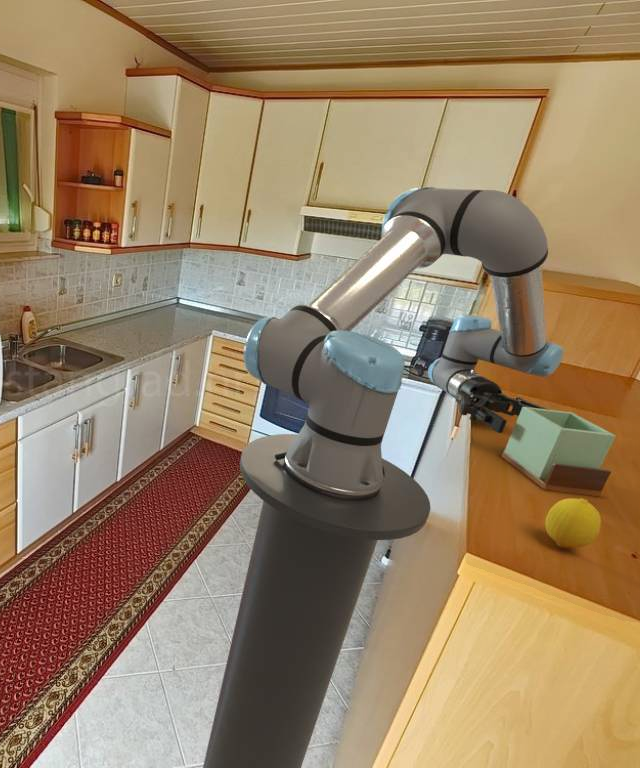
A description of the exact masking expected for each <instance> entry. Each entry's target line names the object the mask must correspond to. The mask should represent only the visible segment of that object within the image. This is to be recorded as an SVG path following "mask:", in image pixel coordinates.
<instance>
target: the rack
mask: <svg viewBox="0 0 640 768" xmlns="http://www.w3.org/2000/svg"><path fill="white" fill-rule="evenodd" d="M501 458H503V459H504V460H505V461H506V462H508V463H509V464H510V465H512V466H513V467H514V468H516V469H517V470H518V471H519V472H521V473H522V474H523V475H525V476H526V477H527V478H528V479H529V480H531V481H532V482H534V483H535V484H536V485H537V486H539V487H540V488H541V489H543V490H544V491H550V492H551V491H553V492H559V493H561V492H562V493H567V494H576V495H585V496H592V497H600V495H601V494H602V491H603V489H604V487H605V485H606V483H607V481H608V480H609V477H610V475H611V474H612V471H611V470H610V469H605V468H604V469H603V468H600V469H596V468H588V467H580V466H571V465H563V464H555V463H553V465H552V467H551V470H550V472H549V474H548V476H547V478H546V479H540V478H538V477H537V476H535V475H534V474H533V473H531V472H530V471H529V470H527V469H526V468H525V467H523V466H522V465H521V464H519V463H518V462H517V461H515V460H514V459H513V458H512V457H510V456H509V455H508V454H506V453H505V452H504V451H503V452H502V454H501Z"/></svg>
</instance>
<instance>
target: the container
mask: <svg viewBox="0 0 640 768" xmlns="http://www.w3.org/2000/svg"><path fill="white" fill-rule="evenodd" d="M547 409H548V408H547ZM547 409H539V408H530V407H522V410H521V412H520V415H519V416H518V417H517V420H516V422H515V424H514V426H513V429H512V431H511V434H510V436H509V439H508V441H507V444H506V445H505V449H504V450H503V452H505V453H506V454H508V455H509V456H510V457H512V458H513V459H514V460H515V461H517V462H518V463H519V464H521V465H522V466H523V467H525V468H526V469H527V470H529V471H530V472H531V473H533V474H534V475H535V476H537V477H538V478H540V479H546V478H547V476H548V474H549V472H550V470H551V467H552V465H553V463H555V464H563V465H571V466H580V467H588V468H596V469H601V467H602V465H603V463H604V461H605V460H606V457H607V455H608V453H609V451H610V449H611V447H612V446H613V443H614V441H615V439H616V438H617V435H615V434H613V433H612V432H610V431H608V430H606V429H604V428H602V427H601V426H599V425H596V424H595V423H593V422H590V421H589V420H587V419H585V418H584V417H582V416H580V415H578V414H576V413H574V412H572V411H562V410H555V409H549V410H547Z"/></svg>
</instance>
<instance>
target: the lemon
mask: <svg viewBox="0 0 640 768" xmlns="http://www.w3.org/2000/svg"><path fill="white" fill-rule="evenodd" d="M544 526H545V531H546V532H547V535H548V536H549V537H550V538H551V540H553V541H554V542H555V543H556V544H557V547H560V548H563V549H564V548H574V549H577V548H584V547H586V546H588V545H590V544H591V543H593V542H594V541H595V539H597V537H598V535H599V533H600V531H601V526H602V518H601V514H600V513H599V511H598V510H597V509H596V507H594V505H592V504H591V503H590V502H589V501H588V499H585V498H574V497H573V498H564V499H561V500H558V501H557V502H556V503H555V504H553V505H552V507H551V508H550V509H549V510H548V512H547V514H546V517H545V521H544Z"/></svg>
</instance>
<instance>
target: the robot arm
mask: <svg viewBox="0 0 640 768" xmlns="http://www.w3.org/2000/svg"><path fill="white" fill-rule="evenodd" d="M387 211H388V212H386V213H385V214H384V215H383V216H384V217H383V219H382V224H381V238H380V239H379V240H378V241H376V243H374V245H373V246H371V247H370V248H369V249H368V250H367V251H366V252H365V253H363V255H362V256H360V257H359V258H358V259H357V260H356V261H354V263H352V265H350V266H349V267H348V268H347V269H346V270H345V271H344V272H343V273H341V275H339V276H338V277H337V278H336V279H335V280H334V281H333V282H331V284H330V285H328V286H327V287H326V288H325V289H324V290H323V291H322V292H320V293H319V295H317V296H316V297H315V298H314V299H313V300H312V301H311V302H310V303H309V304H297V305H295V306H293V307H292V308H290V309H289V310H288V311H287V312H286V313H285V314H284V315H283V316H282V317H280V318H278V317H276V316H265V317H262V318H260V319H259V320H258V321H256V323H254V324H253V326H252V327H251V328H250V330H249V332H248V334H247V337H246V339H245V341H244V343H245V345H244V348H243V361H244V365H245V369H246V371H247V372H248V373H249V374H250V376H251V377H253V378H254V379H257V380H259V381H260V382H261V383H262V384H264V385H265V386H271V387H272V388H275V389H277V390H279V391H281V392H283V393H284V394H287V395H289V396H292V397H293V398H295V399H298V400H300V401H302V402H304V403H306V404H308V409H307V414H306V418H305V422H304V425H303V426H302V428H301V429H300V430H299V432H298V435H297V437H296V438H295V440H294V441H293V443H292V444H291V446H290V447H289V448H288V450H287V452H285V453H281V454H276V455H275V458H276V460H279V459H284V458H285V459H284V468H285V470H286V472H287V473H288V474H289V475H290V476H291V477H292V478H293V479H294V480H295V481H296V482H298V483H299V484H301V485H302V486H304V487H306V488H308V489H310V490H312V491H314V492H317V493H319V494H322V495H325V496H328V497H332V498H336V499H341V500H349V501H363V500H369V499H372V498H374V497H376V496H377V495H378V494H379V492H380V489H381V486H382V483H383V475H384V477H385V472H384V468H383V466H382V458H383V456H382V443H383V439H384V436H385V433H386V430H387V428H388V424H389V421H390V418H391V415H392V412H393V409H394V405H395V402H396V399H397V396H398V393H399V390H401V387H402V379H403V375H404V371H405V359H404V357H403V355H402V353H401V352H400V351H399V349H397V348H396V347H394V346H393V345H391V344H389V343H387V342H385V341H383V340H382V339H379V338H376V337H373V336H371V335H369V334H368V335H367V334H361V333H359V332H356V331H352V330H353V329H355V327H357V326H358V324H360V323H361V322H362V321H363V320H364V319H365V318H366V317H367V316H368V315H369V314H370V313H371V312H372V311H373V310H374V309H375V308H376V307H378V306H379V305H380V303H382V302H383V301H384V300H385V299H386V298H387V297H389V295H390V294H391V293H392V292H393V291H394V290H396V288H398V287H399V285H401V283H403V281H404V280H406V279H407V278H408V277H409V276H410V275H411V274H412V273H413V272H414V271H415V270H416V269H417V270H418V269H424V268H428V267H430V266H433V264H434V263H435V262H437V261H438V260H439V259H440V258H441V257H442V256H443V255H451V256H457V257H468V258H473V259H476V260H478V261H480V262H481V268H482V269H483V271H484V272H485V273H486V274H487V275H489V276H490V281H491V286H492V291H493V297H494V302H495V308H496V313H497V320H498V325H499V330H498V329H495V328H492V323H493V322H492V320H491V319H489V318H486V317H484V316H479V315H474V314H464V313H463V314H459V315H457V316H456V317H455V318H454V320H453V323H452V325H451V328H450V330H449V331H448V332H449V333H448V335H447V339H446V342H445V345H444V348H443V351H442V355H441V357H439V358H436V359H435V360H434V361H433V362H432V363H431V364H430V365H429V367H428V369H427V377H428V378H429V380H430V381H431V382H432V383H433V384H434V386H436V387H437V388H438V389H440V390H442V391H444V392H445V393H447V394H448V395H450V396H451V397H452V398H454V399H455V402H456V403H457V404H458V409H459V414H460V415H461V416H467V415H470V416H469V419H468V420H470V421H472V422H476V421H477V420H479V421H481V422H482V423H483V424H485V425H486V426H487V427H489V428H490V429H492V430H494V431H495V432H496V433H497V434H503V432H504V429H505V427H506V425H507V422H508V420H507V419H505V418H503V417H502V416H501V415H499V414H498V413H501V414H505V415H507V416H511V417H513V416H518V417H519V415H520V412H521V410H522V407H530V408H539V409H547V410H550V409H549V408H546V407H544V406H541V405H538V404H537V403H536V404H535V403H533V402H530V401H528V400H525V399H523V398H522V397H516V398H512V397H510V396H508V395H507V394H503V391H502V389H501V387H500V386H499V384H498V383H496V382H494V381H493V380H490V379H489V378H487V377H485V376H483V375H481V374H479V373H477V370H476V366H477V364H478V362H479V360H480V361H484V362H487V363H491V364H494V365H497V366H499V367H500V366H501V367H503V368H508V369H510V370H514V371H518V372H521V373H524V374H526V375H532V376H536V377H541V378H547V377H550V376H551V375H553V373H554V372H555V371H556V370H557V369H558V367H559V366H560V364H561V362H562V360H563V356H564V348H563V346H561V345H560V344H556V343H554V342H553V341H550V342H549V341H548V339H547V329H546V313H545V299H544V288H543V287H544V285H543V284H544V283H543V269H542V266H543V265H544V264H545V262H546V261H547V259H548V257H549V256H548V255H549V245H548V244H549V243H548V238H547V235H546V232H545V230H544V228H543V226H542V224H541V222H540V221H539V219H538V217H537V216H536V215H535V214H534V212H533V211H532V210H531V209H530V207H528V206H527V205H526V204H525V203H524V202H523V201H521V200H520V199H519V198H516V196H513V195H512V194H509V193H508V192H504V191H500V190H496V189H461V188H445V187H444V188H442V187H441V188H439V187H433V186H426V187H416V188H415V187H414V188H411V189H408V190H405V191H404V192H402V193H400V194H399V195H398V196H396V198H395V199H394V200H393V201H392V202H391V203H390V205H389V206H388V208H387ZM510 407H511V408H512V409H511V410H509V409H510Z"/></svg>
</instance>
